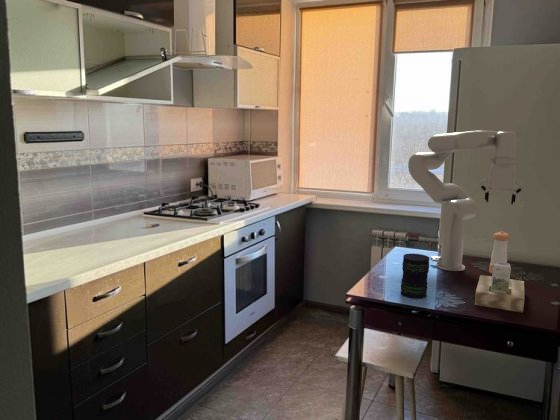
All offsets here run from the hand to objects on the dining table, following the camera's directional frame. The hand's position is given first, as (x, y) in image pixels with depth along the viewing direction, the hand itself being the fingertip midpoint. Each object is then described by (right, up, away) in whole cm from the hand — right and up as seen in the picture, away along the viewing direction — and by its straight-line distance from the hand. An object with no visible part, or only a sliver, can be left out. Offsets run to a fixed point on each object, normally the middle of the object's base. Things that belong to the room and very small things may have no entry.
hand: (499, 202), depth 211 cm
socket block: (-8, -37, -19) cm, 42 cm away
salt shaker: (+6, -31, +16) cm, 36 cm away
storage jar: (-41, -36, -18) cm, 57 cm away
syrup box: (-11, -37, -24) cm, 46 cm away
